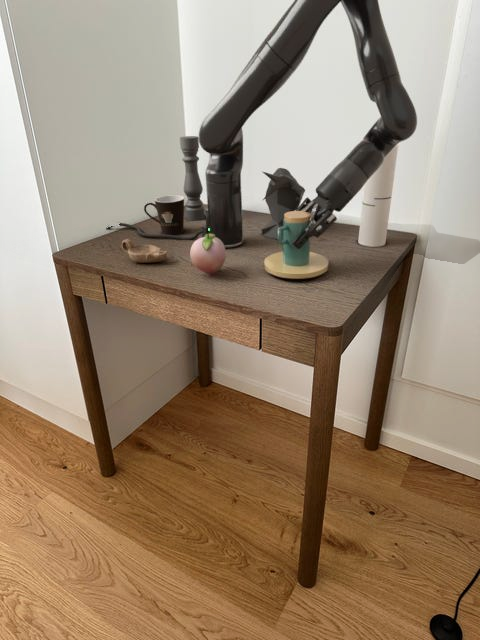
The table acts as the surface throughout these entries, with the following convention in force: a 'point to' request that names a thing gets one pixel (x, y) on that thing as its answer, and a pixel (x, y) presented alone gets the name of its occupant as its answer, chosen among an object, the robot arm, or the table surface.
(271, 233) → the narwhal figurine
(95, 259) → the table surface
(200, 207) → the candle holder
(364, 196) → the cylindrical container
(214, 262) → the decorative fruit
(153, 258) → the oil lamp
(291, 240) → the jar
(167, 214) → the coffee mug
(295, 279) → the turntable base
